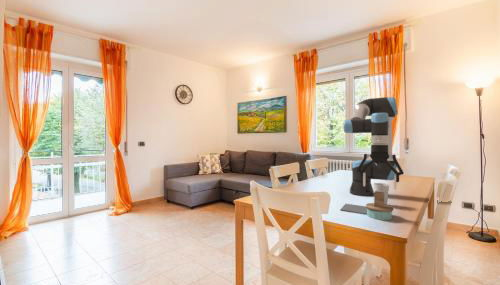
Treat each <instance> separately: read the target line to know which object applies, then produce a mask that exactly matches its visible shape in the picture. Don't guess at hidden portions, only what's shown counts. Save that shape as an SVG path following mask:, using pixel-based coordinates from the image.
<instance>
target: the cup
mask: <svg viewBox="0 0 500 285" xmlns="http://www.w3.org/2000/svg"><path fill="white" fill-rule="evenodd" d="M373 190H374V192H375V191H379V192H384V204H386V205H388V202H389V201H388V199H389V191H390V184H388V183H383V182H374V183H373Z"/></svg>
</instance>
